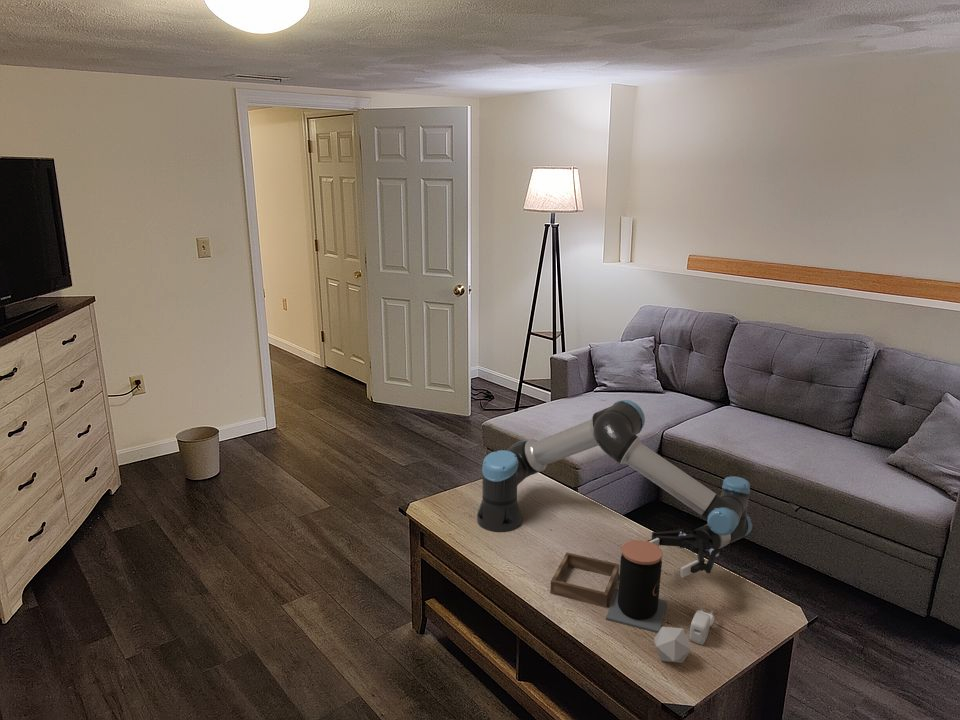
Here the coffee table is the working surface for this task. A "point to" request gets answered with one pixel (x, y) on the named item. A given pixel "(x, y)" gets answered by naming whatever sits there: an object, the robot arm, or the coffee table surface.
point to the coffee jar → (639, 579)
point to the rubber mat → (646, 624)
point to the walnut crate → (582, 592)
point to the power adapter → (701, 626)
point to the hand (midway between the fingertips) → (661, 560)
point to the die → (672, 644)
